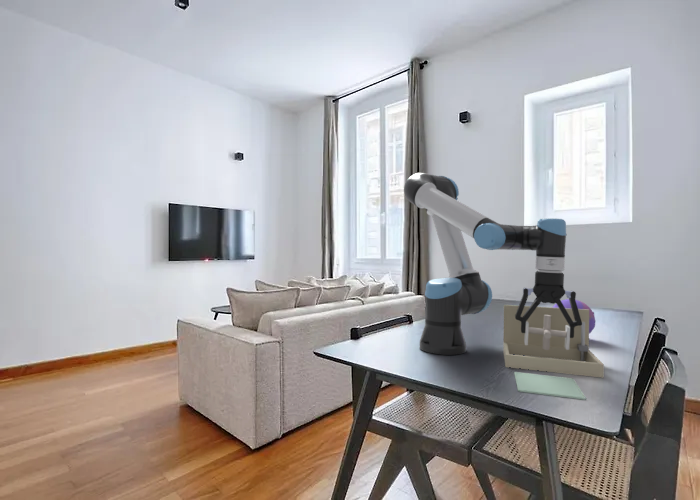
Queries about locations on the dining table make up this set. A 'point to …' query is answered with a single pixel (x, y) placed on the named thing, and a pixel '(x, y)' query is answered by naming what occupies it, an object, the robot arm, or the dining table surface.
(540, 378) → the mat
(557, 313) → the case
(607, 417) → the dining table surface
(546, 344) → the pipe connector
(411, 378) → the dining table surface
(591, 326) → the decorative ball
